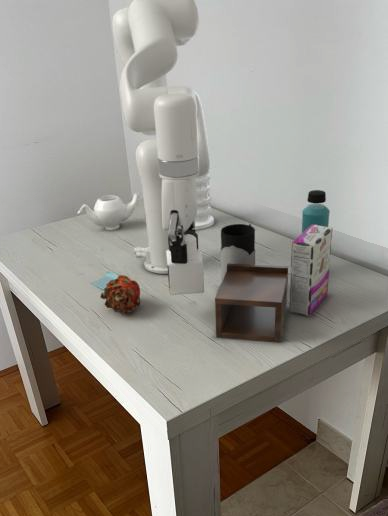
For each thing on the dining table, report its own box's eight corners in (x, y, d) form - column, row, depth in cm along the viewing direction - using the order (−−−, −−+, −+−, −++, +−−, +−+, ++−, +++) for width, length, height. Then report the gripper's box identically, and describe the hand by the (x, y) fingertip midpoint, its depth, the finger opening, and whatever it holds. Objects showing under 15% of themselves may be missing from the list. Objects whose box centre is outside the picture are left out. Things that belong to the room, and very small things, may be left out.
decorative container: (206, 231, 163) (203, 170, 153) (170, 228, 166) (166, 168, 157) (218, 218, 172) (217, 159, 162) (184, 215, 175) (181, 158, 166)
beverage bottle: (325, 277, 132) (332, 196, 122) (297, 276, 134) (302, 195, 123) (325, 266, 138) (332, 187, 127) (298, 265, 139) (303, 187, 128)
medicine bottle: (168, 280, 119) (164, 227, 112) (201, 277, 119) (198, 225, 112) (169, 295, 113) (165, 241, 106) (204, 293, 113) (202, 238, 106)
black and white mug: (214, 296, 127) (212, 235, 119) (233, 271, 138) (232, 213, 130) (250, 301, 124) (251, 238, 116) (267, 275, 135) (268, 216, 127)
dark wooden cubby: (216, 337, 112) (214, 292, 106) (228, 305, 123) (227, 263, 118) (280, 342, 109) (282, 296, 103) (286, 309, 120) (288, 266, 115)
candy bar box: (307, 291, 127) (311, 223, 118) (327, 295, 124) (334, 226, 116) (287, 312, 119) (290, 241, 110) (309, 317, 117) (314, 245, 108)
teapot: (77, 228, 170) (72, 199, 165) (138, 217, 176) (135, 188, 171) (84, 238, 163) (79, 208, 158) (147, 226, 169) (144, 196, 164)
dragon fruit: (127, 329, 119) (117, 312, 130) (155, 301, 119) (143, 286, 130) (99, 304, 115) (91, 288, 126) (127, 275, 115) (117, 262, 125)
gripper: (171, 153, 110) (177, 237, 120) (145, 180, 96) (154, 272, 106) (208, 154, 108) (210, 239, 118) (187, 181, 94) (192, 275, 104)
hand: (184, 254), depth 112 cm, fingers closed on medicine bottle, 6 cm apart
